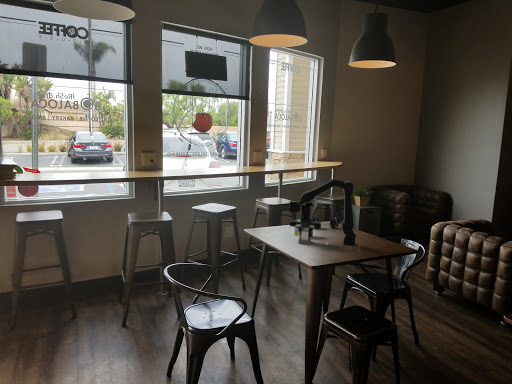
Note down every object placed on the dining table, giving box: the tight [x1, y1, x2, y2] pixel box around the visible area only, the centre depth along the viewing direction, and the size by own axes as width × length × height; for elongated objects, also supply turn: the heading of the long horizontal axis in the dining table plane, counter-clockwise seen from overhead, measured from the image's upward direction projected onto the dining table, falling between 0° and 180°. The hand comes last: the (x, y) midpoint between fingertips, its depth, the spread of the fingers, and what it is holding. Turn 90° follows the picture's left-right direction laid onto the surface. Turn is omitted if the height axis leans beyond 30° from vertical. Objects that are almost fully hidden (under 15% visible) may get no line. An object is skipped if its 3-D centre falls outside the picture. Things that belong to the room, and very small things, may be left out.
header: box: [297, 237, 312, 246], centre depth 240 cm, size 7×9×2 cm
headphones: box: [310, 203, 340, 230], centre depth 282 cm, size 20×7×18 cm, turn 101°
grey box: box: [301, 229, 309, 240], centre depth 240 cm, size 4×5×6 cm
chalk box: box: [294, 218, 314, 238], centre depth 256 cm, size 9×9×15 cm
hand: (304, 237), depth 240 cm, fingers closed on grey box, 4 cm apart
